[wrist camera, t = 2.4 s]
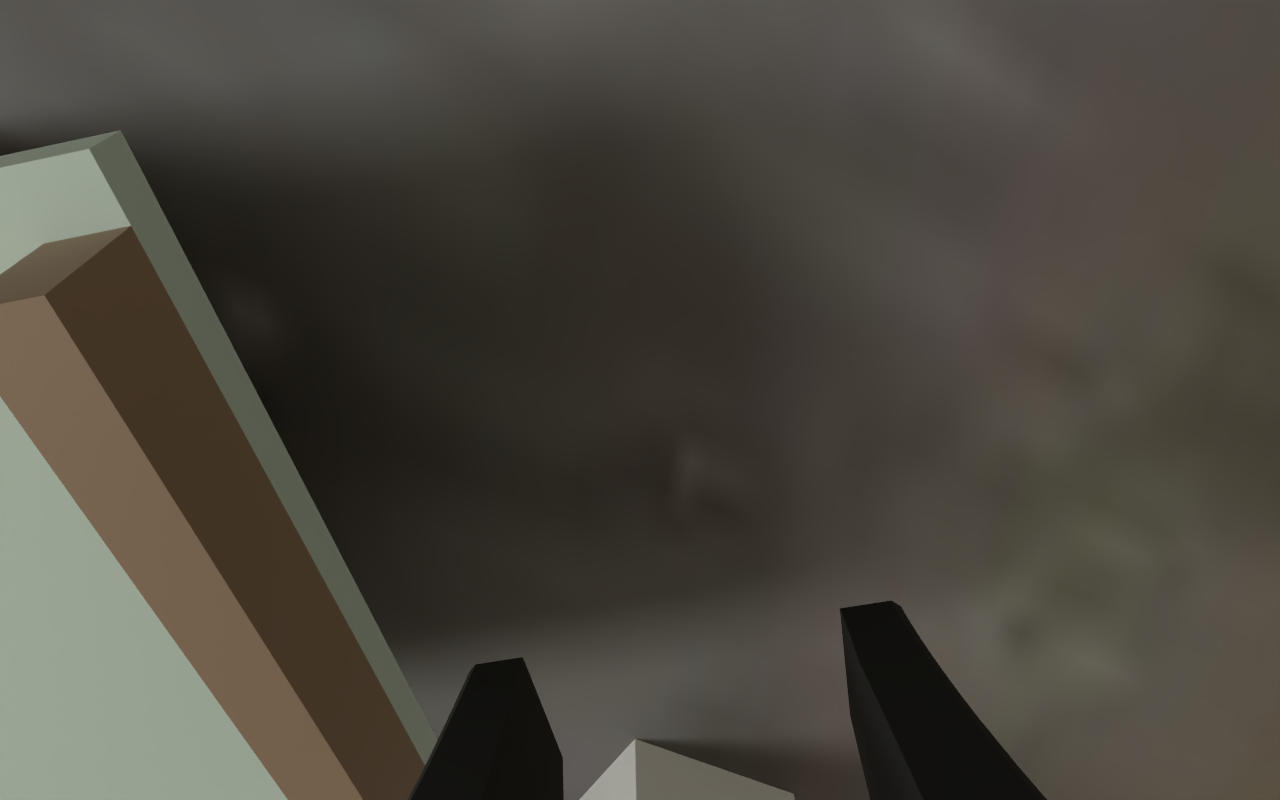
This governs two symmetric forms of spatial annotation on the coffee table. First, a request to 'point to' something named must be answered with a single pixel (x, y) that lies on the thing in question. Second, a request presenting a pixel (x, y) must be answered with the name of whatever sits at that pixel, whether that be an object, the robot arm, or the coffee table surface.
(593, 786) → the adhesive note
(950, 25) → the coffee table surface
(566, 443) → the coffee table surface
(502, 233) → the coffee table surface
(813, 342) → the coffee table surface
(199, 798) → the lid
